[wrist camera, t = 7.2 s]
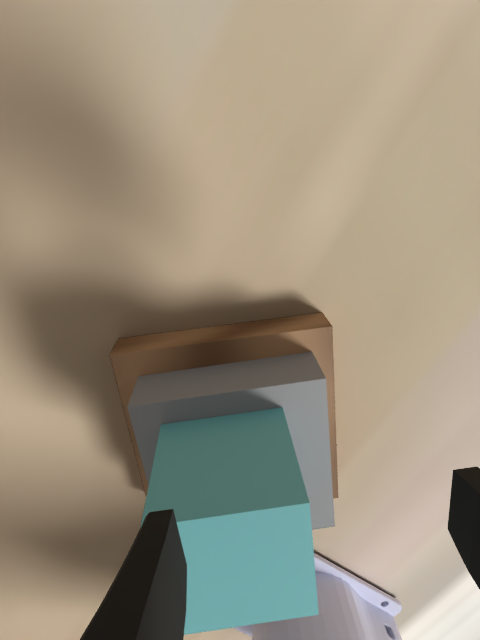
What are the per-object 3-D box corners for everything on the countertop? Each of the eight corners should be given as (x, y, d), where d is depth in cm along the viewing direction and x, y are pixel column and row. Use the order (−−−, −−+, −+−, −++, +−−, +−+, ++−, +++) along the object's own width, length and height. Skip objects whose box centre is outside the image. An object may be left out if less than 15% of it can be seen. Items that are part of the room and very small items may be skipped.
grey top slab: (312, 351, 19) (325, 378, 16) (321, 487, 21) (334, 526, 19) (138, 376, 19) (127, 406, 16) (171, 508, 21) (166, 550, 19)
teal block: (282, 407, 17) (309, 503, 12) (292, 500, 18) (318, 614, 14) (161, 424, 17) (140, 527, 12) (182, 515, 18) (172, 636, 14)
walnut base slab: (319, 307, 20) (332, 326, 18) (326, 465, 24) (338, 497, 22) (121, 332, 20) (109, 355, 18) (158, 487, 24) (152, 522, 22)
